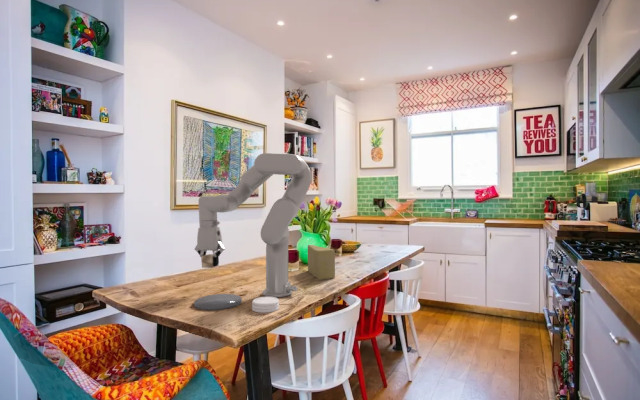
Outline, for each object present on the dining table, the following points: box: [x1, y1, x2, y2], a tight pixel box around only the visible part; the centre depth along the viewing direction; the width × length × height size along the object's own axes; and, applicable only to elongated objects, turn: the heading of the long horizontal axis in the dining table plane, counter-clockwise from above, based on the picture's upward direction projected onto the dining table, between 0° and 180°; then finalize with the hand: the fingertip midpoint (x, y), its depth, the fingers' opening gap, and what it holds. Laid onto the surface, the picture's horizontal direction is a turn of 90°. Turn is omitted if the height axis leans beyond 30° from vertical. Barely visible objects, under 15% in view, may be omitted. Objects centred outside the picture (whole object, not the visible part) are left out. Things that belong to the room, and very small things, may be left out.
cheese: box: [307, 244, 336, 281], centre depth 191 cm, size 22×10×15 cm, turn 26°
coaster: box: [251, 296, 280, 314], centre depth 135 cm, size 10×10×4 cm
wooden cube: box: [201, 253, 220, 269], centre depth 159 cm, size 5×5×5 cm
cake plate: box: [193, 293, 243, 311], centre depth 143 cm, size 18×18×1 cm
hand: (210, 265), depth 159 cm, fingers closed on wooden cube, 4 cm apart
